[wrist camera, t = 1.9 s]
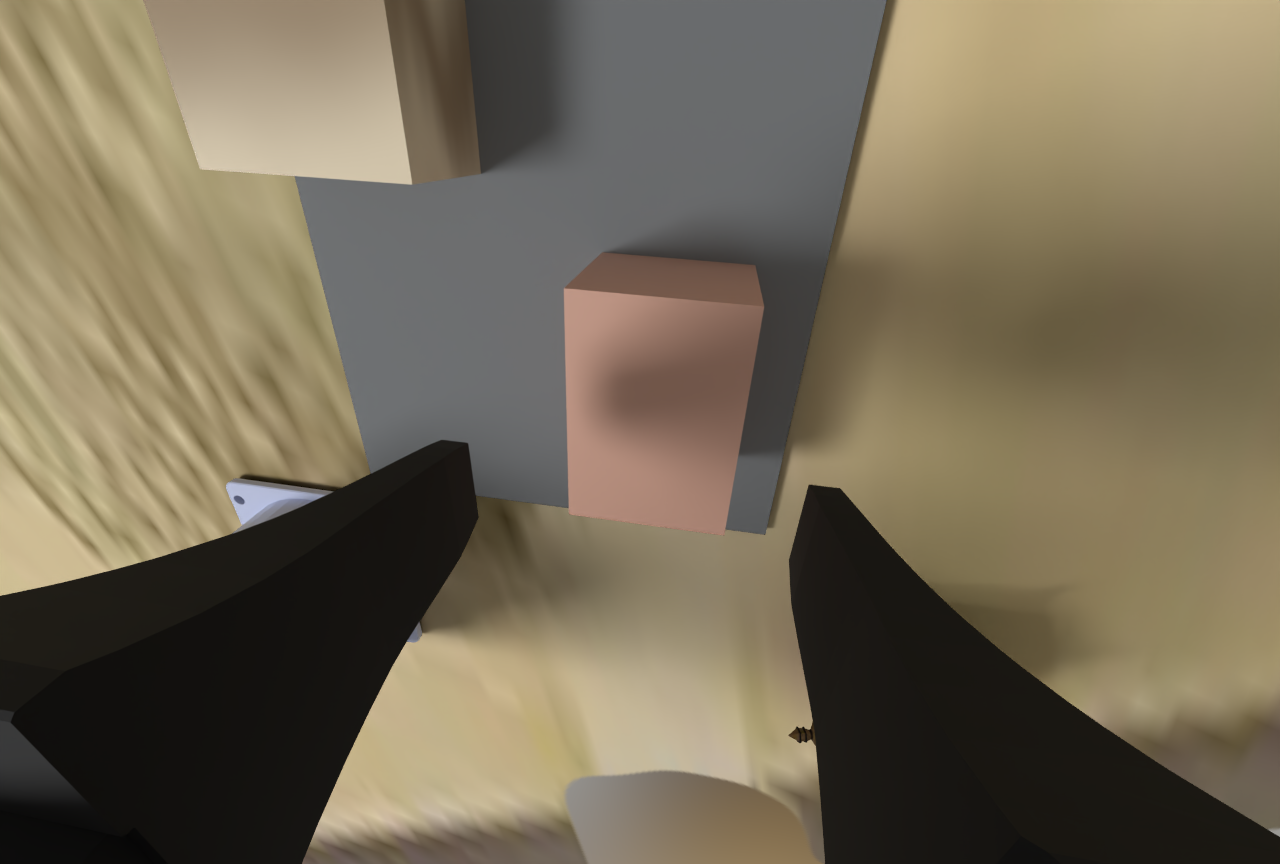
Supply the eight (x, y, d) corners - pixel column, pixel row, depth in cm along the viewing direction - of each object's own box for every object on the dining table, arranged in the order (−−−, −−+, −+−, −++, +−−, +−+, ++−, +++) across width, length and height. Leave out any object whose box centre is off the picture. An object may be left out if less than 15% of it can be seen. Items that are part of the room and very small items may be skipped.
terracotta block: (724, 456, 19) (724, 535, 16) (599, 440, 20) (568, 514, 16) (755, 265, 16) (764, 306, 12) (602, 252, 16) (564, 288, 13)
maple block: (480, 173, 16) (412, 184, 12) (311, 162, 16) (200, 168, 13) (450, -156, 12) (342, -269, 9) (234, -157, 13) (54, -264, 9)
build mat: (764, 528, 21) (765, 534, 21) (378, 476, 23) (373, 481, 23) (956, -326, 10) (963, -340, 10) (184, -304, 12) (168, -317, 12)
